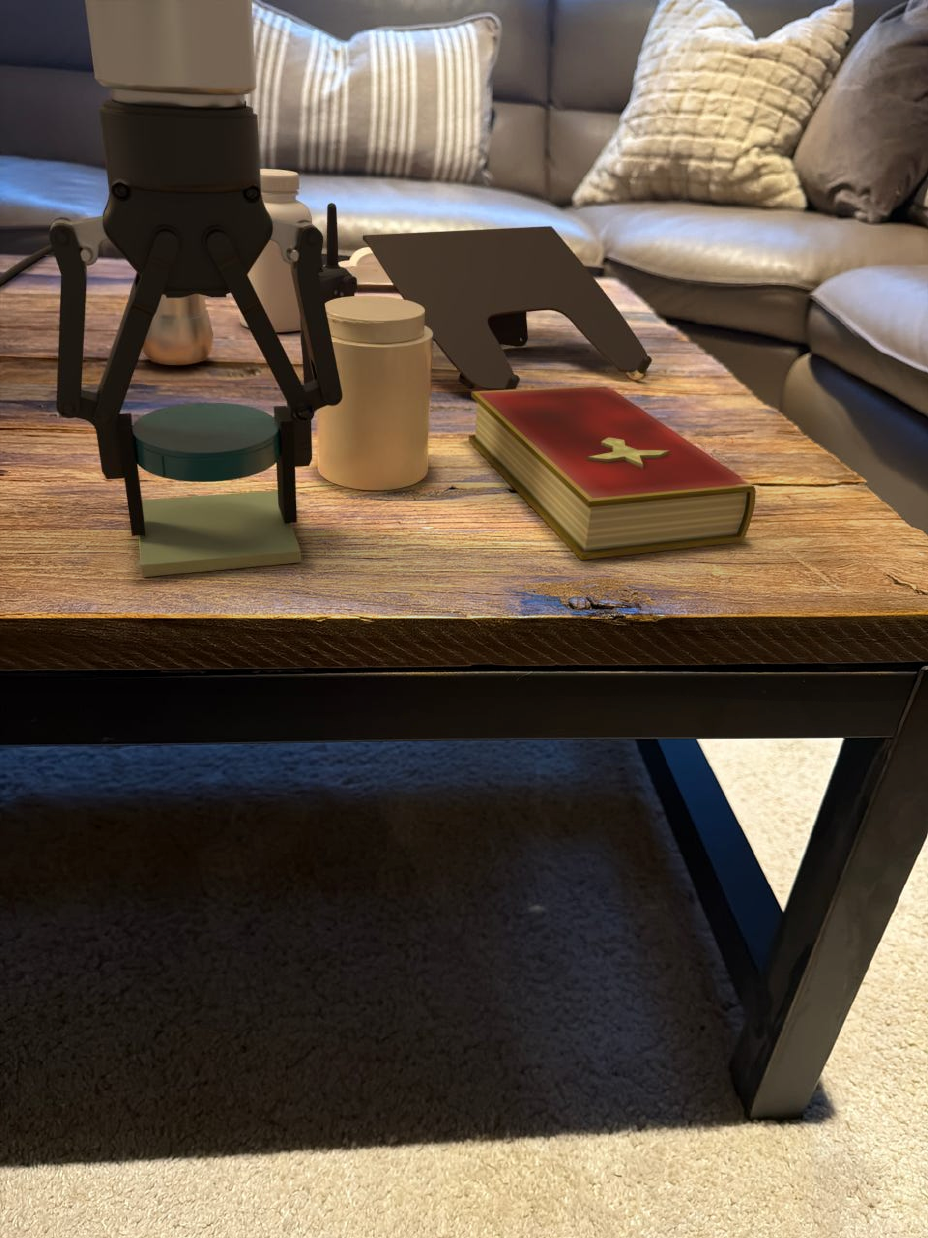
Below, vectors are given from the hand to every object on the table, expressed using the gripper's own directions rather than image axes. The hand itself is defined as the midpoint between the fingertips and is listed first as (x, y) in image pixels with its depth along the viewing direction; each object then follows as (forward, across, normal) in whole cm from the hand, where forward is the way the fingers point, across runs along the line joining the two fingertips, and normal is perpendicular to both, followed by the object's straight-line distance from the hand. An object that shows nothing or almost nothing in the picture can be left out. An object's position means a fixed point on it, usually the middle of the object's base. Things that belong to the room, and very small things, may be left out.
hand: (214, 519), depth 58 cm
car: (+1, -25, -67) cm, 72 cm away
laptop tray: (+1, -32, -33) cm, 46 cm away
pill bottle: (+1, -11, -50) cm, 51 cm away
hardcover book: (+1, -27, -3) cm, 27 cm away
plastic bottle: (+1, 0, -37) cm, 37 cm away
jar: (+1, -12, -9) cm, 15 cm away
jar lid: (-6, 0, 0) cm, 6 cm away
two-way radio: (+1, -13, -28) cm, 31 cm away
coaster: (+1, 0, 0) cm, 1 cm away
